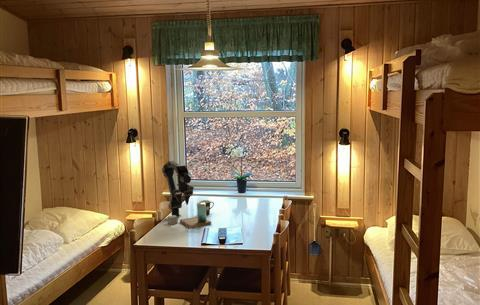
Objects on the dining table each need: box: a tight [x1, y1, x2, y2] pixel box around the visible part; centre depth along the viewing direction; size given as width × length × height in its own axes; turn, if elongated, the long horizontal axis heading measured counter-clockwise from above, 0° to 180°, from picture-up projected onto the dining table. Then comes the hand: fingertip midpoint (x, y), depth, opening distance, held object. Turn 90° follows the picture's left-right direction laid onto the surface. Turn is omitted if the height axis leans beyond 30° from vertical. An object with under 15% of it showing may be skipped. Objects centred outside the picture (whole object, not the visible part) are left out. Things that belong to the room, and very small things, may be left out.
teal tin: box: [196, 201, 208, 223], centre depth 314 cm, size 6×6×13 cm
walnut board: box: [179, 215, 212, 229], centre depth 318 cm, size 18×16×2 cm
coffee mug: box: [198, 199, 215, 216], centre depth 340 cm, size 12×9×10 cm
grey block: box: [167, 214, 178, 225], centre depth 320 cm, size 5×5×5 cm
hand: (183, 204), depth 322 cm, fingers open, 9 cm apart
